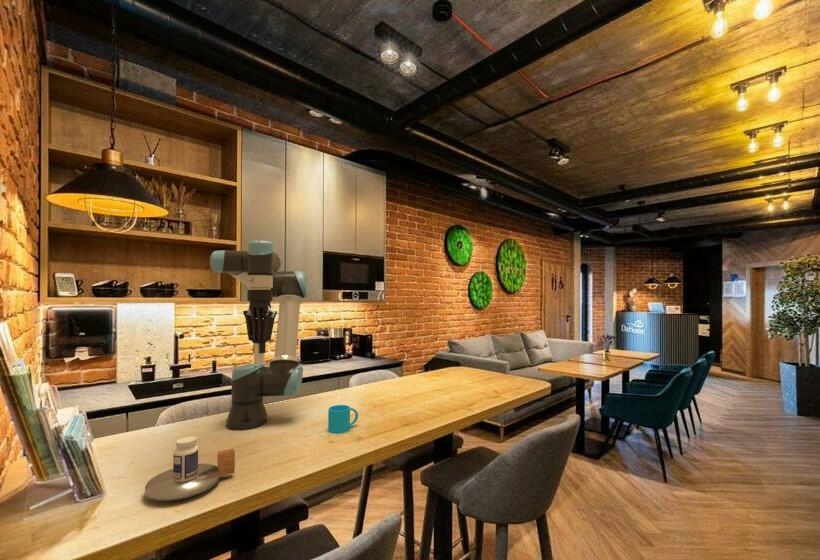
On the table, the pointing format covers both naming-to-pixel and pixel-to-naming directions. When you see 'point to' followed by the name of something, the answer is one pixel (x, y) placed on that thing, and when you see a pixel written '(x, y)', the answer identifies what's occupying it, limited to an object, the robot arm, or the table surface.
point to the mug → (340, 419)
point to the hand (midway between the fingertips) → (259, 363)
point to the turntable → (207, 477)
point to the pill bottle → (185, 460)
